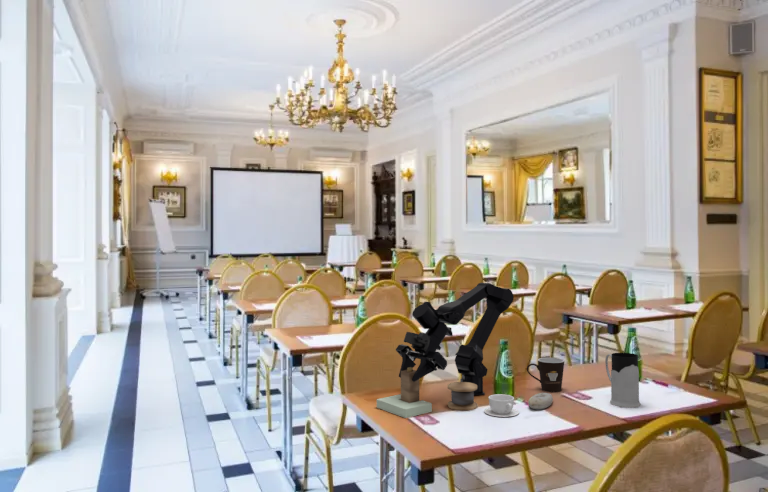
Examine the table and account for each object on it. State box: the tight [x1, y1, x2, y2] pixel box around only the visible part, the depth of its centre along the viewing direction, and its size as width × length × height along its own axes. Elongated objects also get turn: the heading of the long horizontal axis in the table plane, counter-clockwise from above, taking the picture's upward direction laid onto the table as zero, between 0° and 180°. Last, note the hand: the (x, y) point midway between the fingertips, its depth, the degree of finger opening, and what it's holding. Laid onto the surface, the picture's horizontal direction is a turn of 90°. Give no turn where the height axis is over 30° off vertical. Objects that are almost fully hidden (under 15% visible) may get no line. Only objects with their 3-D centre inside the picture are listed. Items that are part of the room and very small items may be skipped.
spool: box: [447, 381, 478, 412], centre depth 179 cm, size 9×9×6 cm
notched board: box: [376, 393, 433, 419], centre depth 176 cm, size 10×14×2 cm
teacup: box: [484, 393, 520, 418], centre depth 172 cm, size 10×10×5 cm
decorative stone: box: [527, 392, 554, 410], centre depth 179 cm, size 6×16×3 cm, turn 149°
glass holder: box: [605, 352, 642, 409], centre depth 182 cm, size 9×14×15 cm, turn 12°
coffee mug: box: [526, 357, 565, 393], centre depth 198 cm, size 12×9×10 cm
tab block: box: [400, 367, 420, 403], centre depth 178 cm, size 4×4×12 cm
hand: (406, 378), depth 177 cm, fingers open, 6 cm apart
